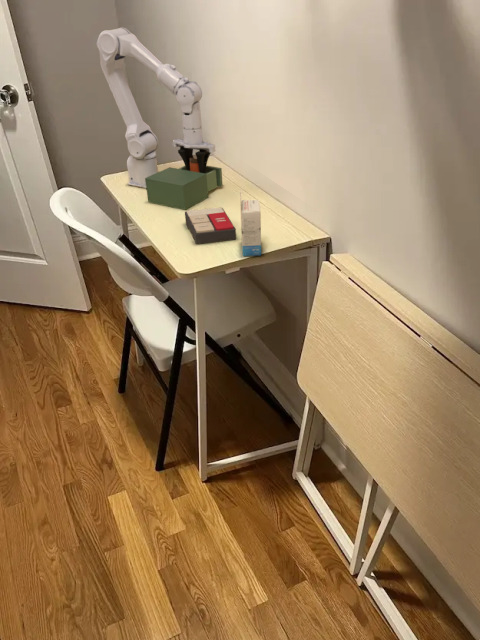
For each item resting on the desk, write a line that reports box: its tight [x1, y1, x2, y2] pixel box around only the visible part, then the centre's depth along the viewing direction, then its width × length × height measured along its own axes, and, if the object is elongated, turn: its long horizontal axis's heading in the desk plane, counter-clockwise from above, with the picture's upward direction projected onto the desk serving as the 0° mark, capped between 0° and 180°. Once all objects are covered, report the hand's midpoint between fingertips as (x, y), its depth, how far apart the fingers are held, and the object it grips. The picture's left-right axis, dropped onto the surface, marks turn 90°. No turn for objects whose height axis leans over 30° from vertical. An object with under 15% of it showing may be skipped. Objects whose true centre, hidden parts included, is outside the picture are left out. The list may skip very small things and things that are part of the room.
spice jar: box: [189, 154, 200, 173], centre depth 181 cm, size 4×4×8 cm
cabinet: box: [145, 166, 209, 211], centre depth 175 cm, size 12×14×7 cm
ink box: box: [239, 188, 262, 257], centre depth 143 cm, size 9×5×15 cm, turn 5°
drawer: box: [178, 165, 224, 193], centre depth 183 cm, size 15×13×6 cm
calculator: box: [184, 206, 237, 245], centre depth 156 cm, size 11×4×15 cm
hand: (196, 172), depth 181 cm, fingers closed on spice jar, 4 cm apart
